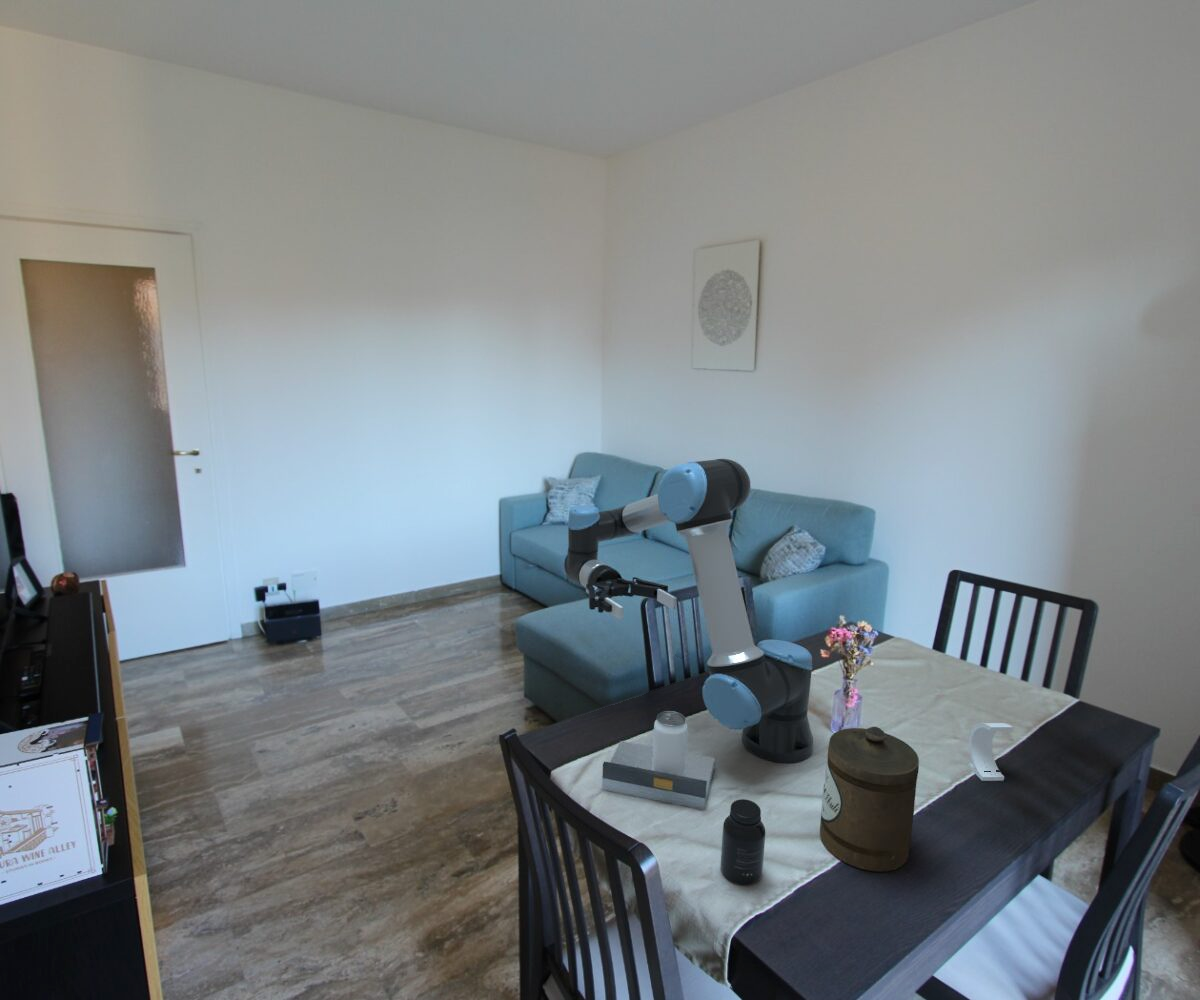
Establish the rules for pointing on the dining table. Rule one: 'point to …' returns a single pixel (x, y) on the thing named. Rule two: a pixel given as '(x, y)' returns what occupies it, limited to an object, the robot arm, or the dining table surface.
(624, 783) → the grey tray
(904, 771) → the wooden container
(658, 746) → the can
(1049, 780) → the dining table surface
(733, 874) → the supplement bottle
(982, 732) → the headphone stand
